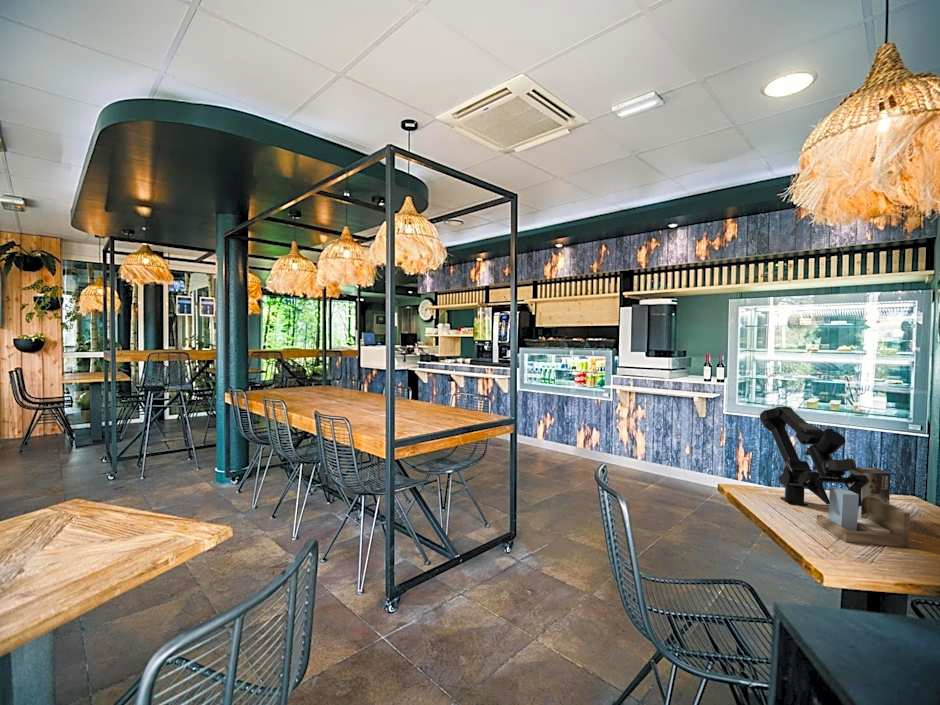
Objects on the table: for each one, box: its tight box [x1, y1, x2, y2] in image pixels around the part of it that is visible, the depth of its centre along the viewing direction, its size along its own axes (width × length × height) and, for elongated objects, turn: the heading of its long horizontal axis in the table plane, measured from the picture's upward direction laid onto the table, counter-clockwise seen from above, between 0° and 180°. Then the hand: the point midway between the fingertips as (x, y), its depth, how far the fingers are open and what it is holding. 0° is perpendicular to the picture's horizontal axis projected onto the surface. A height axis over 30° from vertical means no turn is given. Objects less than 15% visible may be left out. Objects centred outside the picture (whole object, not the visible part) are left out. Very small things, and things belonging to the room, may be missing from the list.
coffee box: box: [849, 466, 891, 519], centre depth 157 cm, size 9×6×16 cm
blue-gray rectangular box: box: [827, 487, 859, 531], centre depth 142 cm, size 6×4×12 cm
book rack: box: [815, 497, 911, 548], centre depth 140 cm, size 14×17×10 cm
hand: (844, 505), depth 142 cm, fingers open, 9 cm apart
